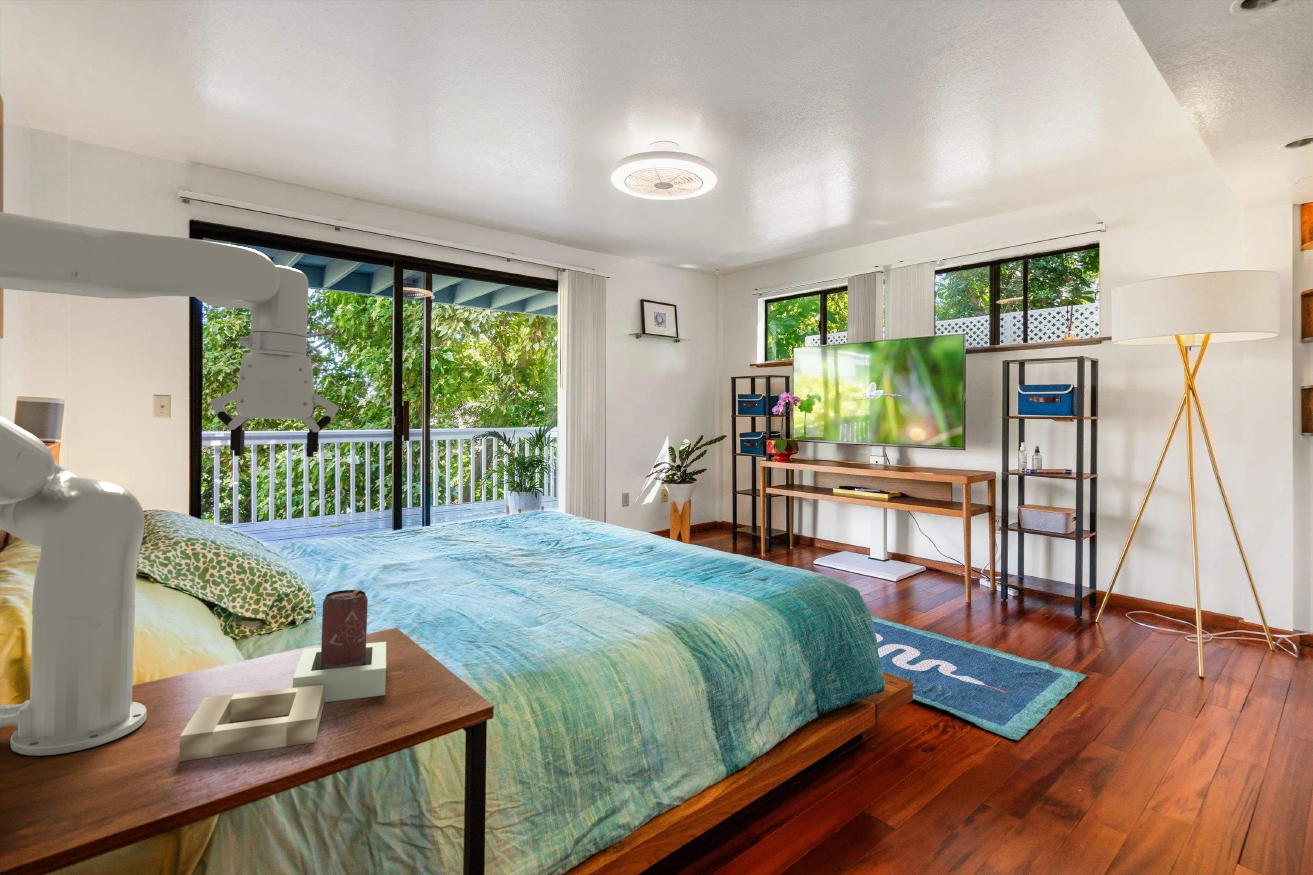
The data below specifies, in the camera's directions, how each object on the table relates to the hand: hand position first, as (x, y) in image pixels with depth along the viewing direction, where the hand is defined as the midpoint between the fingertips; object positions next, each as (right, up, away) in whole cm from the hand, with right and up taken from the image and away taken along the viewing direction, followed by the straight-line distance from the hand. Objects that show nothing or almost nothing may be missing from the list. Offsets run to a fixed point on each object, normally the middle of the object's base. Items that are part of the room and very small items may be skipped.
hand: (275, 456), depth 98 cm
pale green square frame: (+12, -35, -3) cm, 37 cm away
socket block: (+9, -35, -18) cm, 40 cm away
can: (+12, -35, -3) cm, 37 cm away
